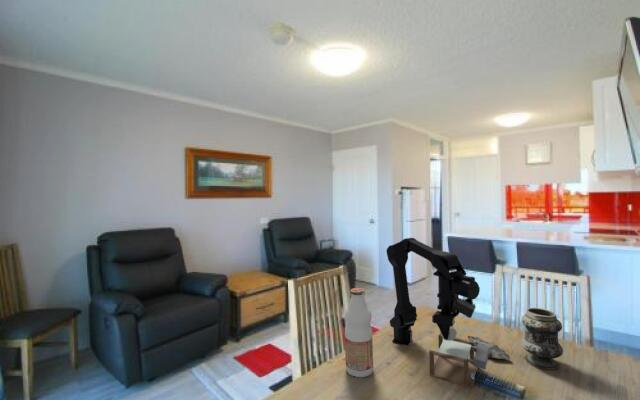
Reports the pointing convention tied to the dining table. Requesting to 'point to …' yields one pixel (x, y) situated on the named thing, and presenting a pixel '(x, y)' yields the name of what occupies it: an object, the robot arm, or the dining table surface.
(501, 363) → the dining table surface
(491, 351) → the mineral rock
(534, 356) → the apothecary jar
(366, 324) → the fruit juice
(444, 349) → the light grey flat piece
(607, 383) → the dining table surface
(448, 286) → the robot arm
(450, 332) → the garlic
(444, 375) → the stand
